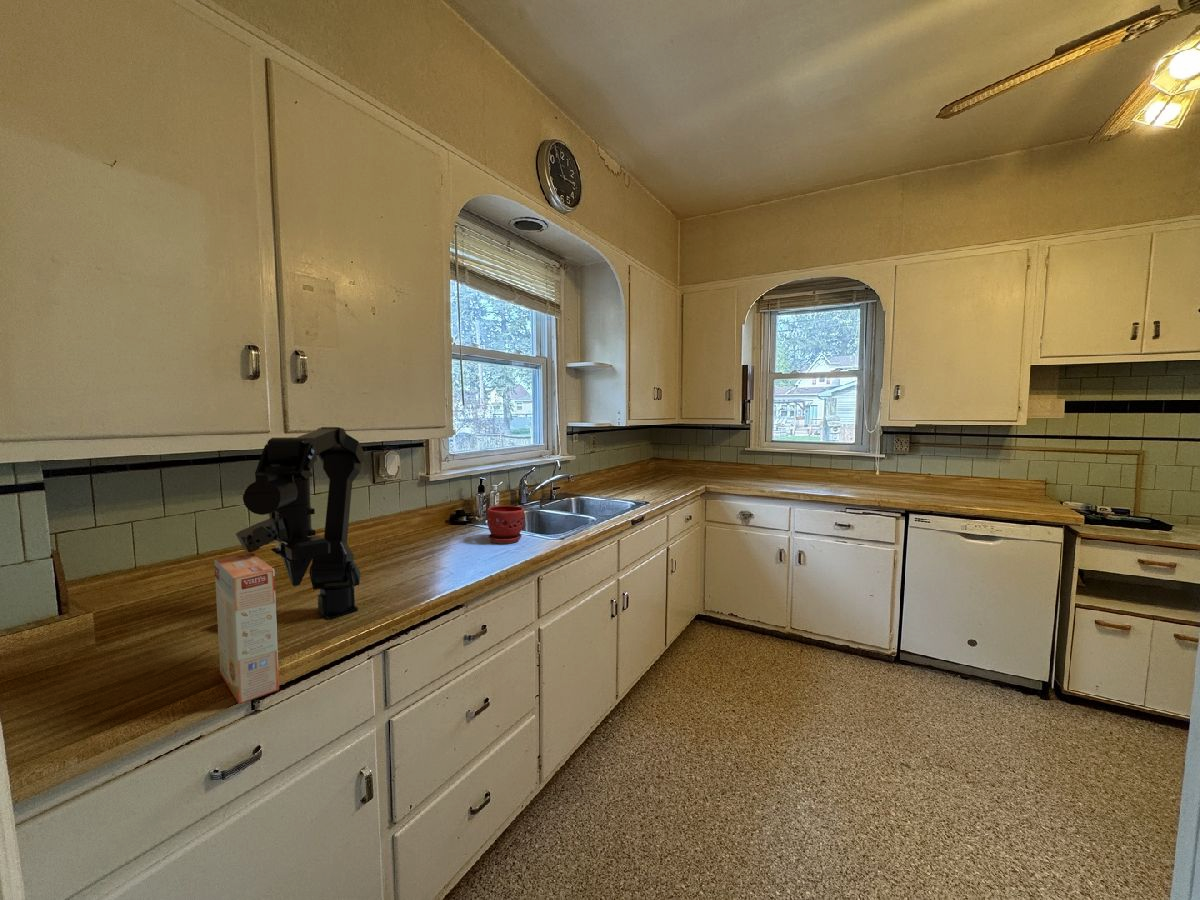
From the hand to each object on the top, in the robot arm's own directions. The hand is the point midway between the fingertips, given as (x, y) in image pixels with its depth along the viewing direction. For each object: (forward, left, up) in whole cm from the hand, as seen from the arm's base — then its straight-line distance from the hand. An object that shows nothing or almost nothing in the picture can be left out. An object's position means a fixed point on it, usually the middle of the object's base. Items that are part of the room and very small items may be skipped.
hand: (296, 585), depth 90 cm
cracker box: (+9, +4, -14) cm, 17 cm away
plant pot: (-77, -30, -14) cm, 84 cm away
